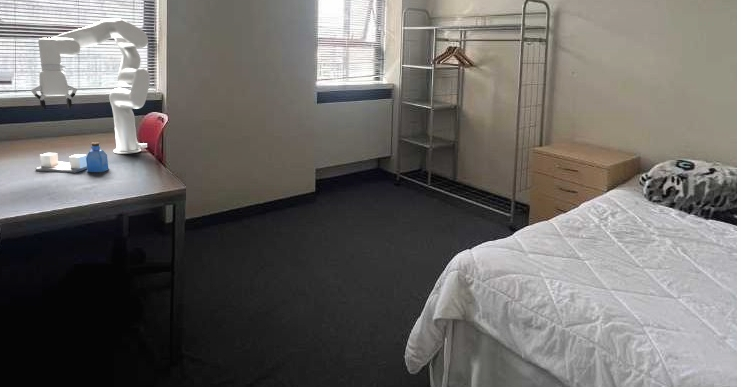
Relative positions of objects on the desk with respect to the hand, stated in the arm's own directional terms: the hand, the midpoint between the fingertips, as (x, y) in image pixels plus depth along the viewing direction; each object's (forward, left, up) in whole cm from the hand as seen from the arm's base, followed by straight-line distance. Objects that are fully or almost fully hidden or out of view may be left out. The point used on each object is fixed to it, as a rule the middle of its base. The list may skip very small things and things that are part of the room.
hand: (56, 108), depth 231 cm
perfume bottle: (-13, +17, -25) cm, 33 cm away
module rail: (0, +8, -25) cm, 26 cm away
